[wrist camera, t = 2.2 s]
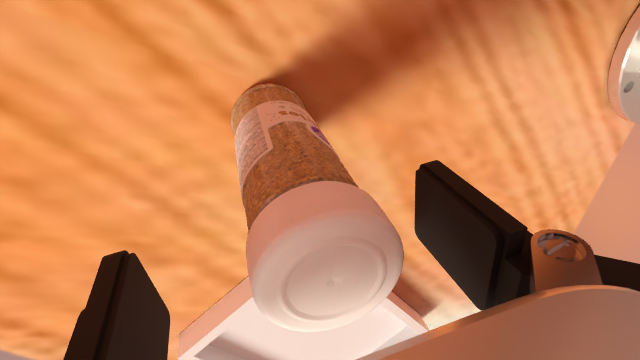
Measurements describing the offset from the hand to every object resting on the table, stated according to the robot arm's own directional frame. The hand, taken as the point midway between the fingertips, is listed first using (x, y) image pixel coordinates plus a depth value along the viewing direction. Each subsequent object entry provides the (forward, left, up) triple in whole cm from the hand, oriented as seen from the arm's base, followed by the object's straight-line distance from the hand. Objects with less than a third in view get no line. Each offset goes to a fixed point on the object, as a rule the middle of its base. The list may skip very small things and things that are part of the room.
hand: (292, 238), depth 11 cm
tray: (-13, +16, -11) cm, 23 cm away
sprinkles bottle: (-1, 0, -11) cm, 11 cm away
